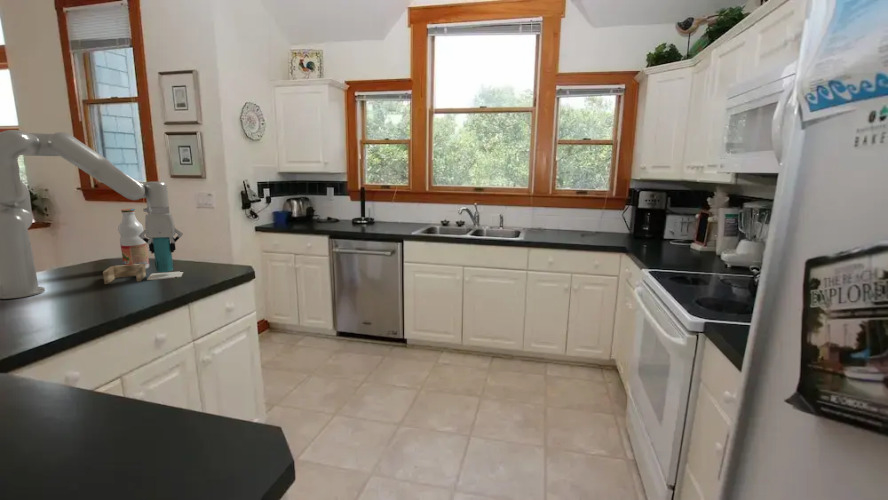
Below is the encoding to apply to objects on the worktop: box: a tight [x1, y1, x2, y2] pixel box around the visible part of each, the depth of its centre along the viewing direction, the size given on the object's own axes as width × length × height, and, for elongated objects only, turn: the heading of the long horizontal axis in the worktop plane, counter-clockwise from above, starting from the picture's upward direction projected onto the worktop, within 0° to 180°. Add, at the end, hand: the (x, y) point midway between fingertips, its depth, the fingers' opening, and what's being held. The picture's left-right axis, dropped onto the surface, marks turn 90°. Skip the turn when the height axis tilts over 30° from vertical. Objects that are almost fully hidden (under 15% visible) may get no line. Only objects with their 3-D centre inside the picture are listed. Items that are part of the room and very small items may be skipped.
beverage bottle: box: [153, 231, 174, 273], centre depth 174 cm, size 6×7×20 cm
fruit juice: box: [118, 208, 150, 269], centre depth 184 cm, size 9×9×28 cm
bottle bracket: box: [102, 264, 147, 285], centre depth 169 cm, size 12×12×5 cm
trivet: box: [146, 271, 184, 281], centre depth 176 cm, size 12×10×1 cm
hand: (162, 252), depth 174 cm, fingers closed on beverage bottle, 6 cm apart
